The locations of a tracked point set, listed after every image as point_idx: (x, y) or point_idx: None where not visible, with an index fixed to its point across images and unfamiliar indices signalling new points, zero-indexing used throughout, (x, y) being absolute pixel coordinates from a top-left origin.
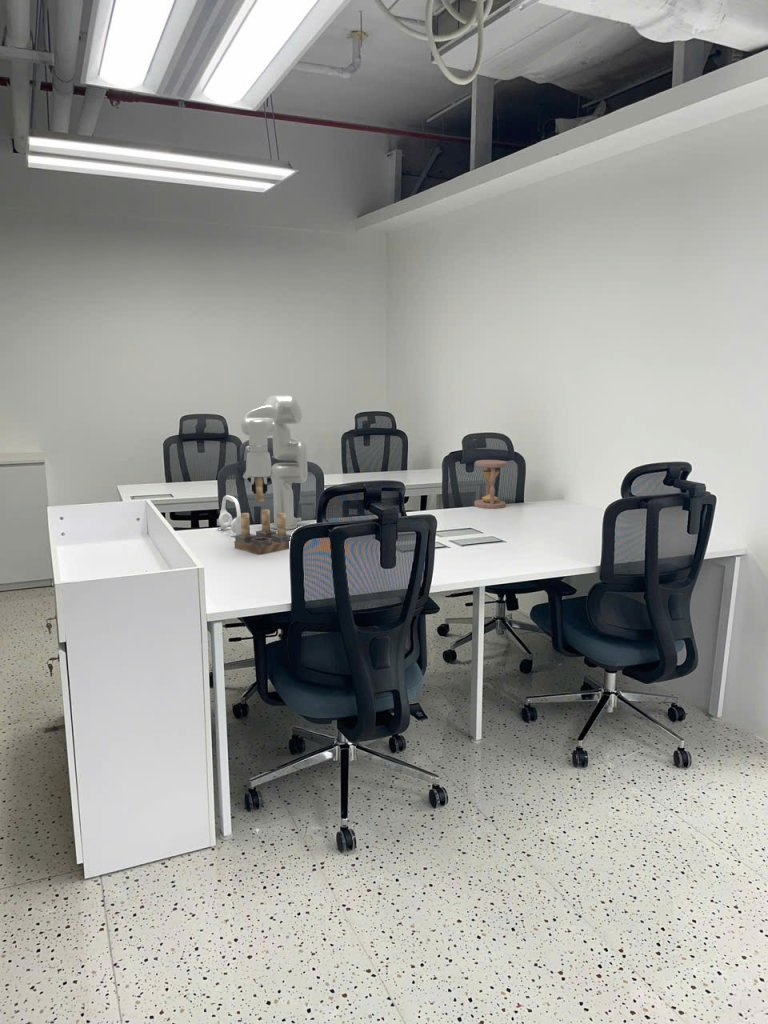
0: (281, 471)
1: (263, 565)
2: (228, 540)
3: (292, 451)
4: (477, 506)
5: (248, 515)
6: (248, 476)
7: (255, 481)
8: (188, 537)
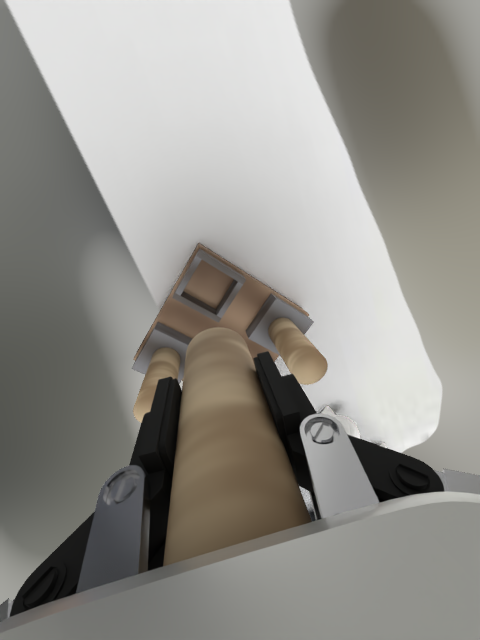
0: None
1: (122, 88)
2: (338, 373)
3: None
4: None
5: (291, 363)
6: (471, 495)
7: (283, 468)
8: (435, 374)
